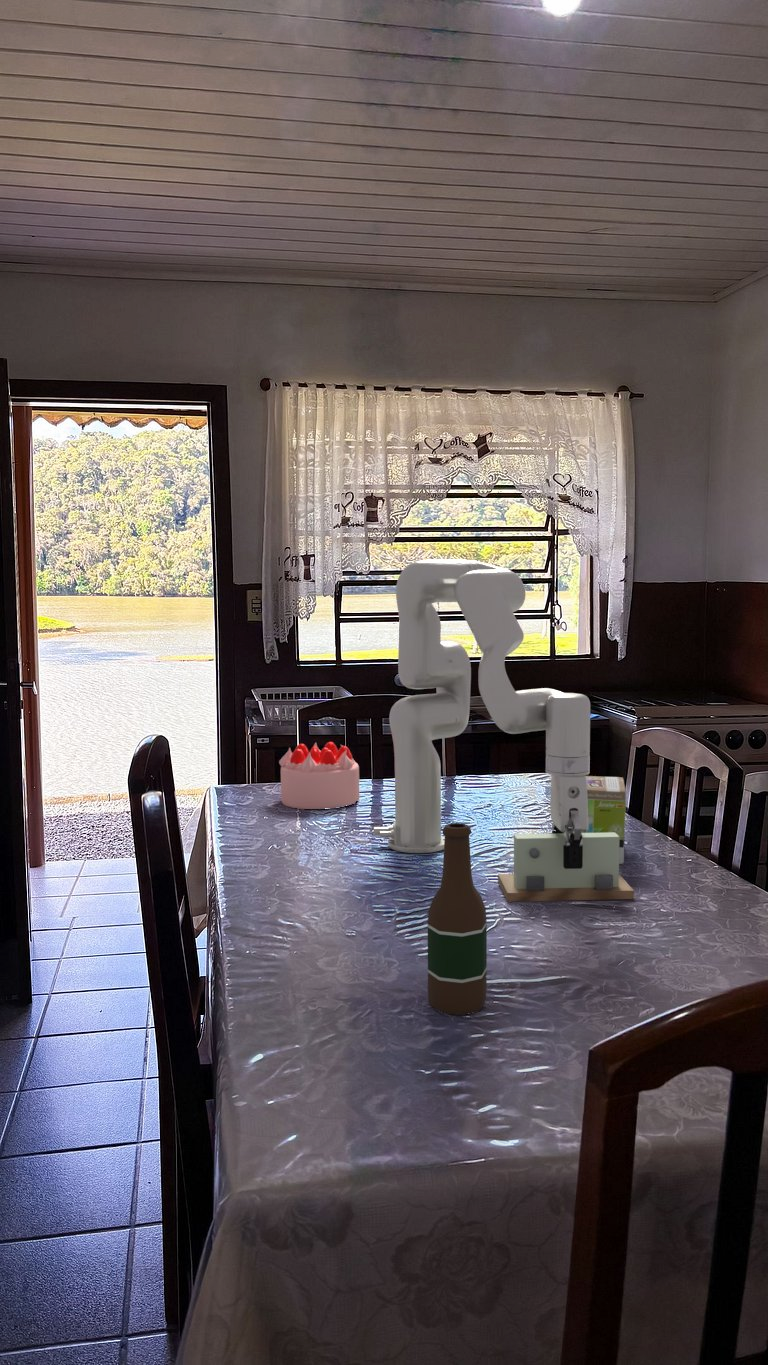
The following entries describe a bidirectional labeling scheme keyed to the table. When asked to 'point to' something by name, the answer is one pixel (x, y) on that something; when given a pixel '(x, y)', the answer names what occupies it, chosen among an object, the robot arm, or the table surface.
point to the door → (547, 859)
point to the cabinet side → (562, 892)
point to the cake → (319, 777)
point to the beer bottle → (457, 932)
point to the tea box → (607, 807)
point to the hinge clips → (538, 883)
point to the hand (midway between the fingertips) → (566, 860)
